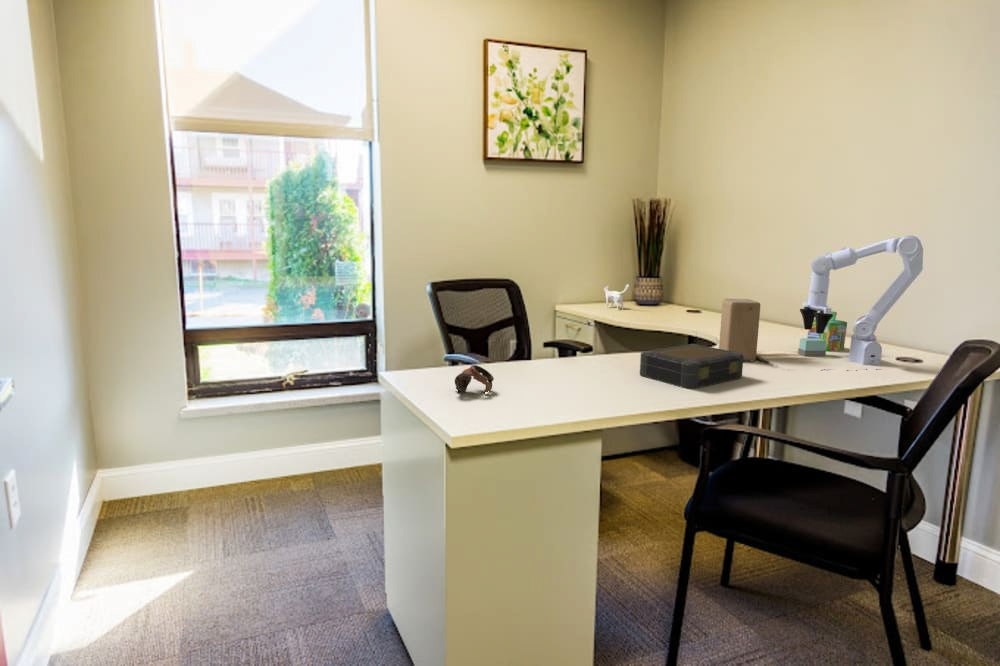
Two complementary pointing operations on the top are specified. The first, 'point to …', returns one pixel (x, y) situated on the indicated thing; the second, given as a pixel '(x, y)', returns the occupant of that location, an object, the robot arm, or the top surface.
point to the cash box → (691, 365)
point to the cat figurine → (614, 296)
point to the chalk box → (831, 333)
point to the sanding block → (812, 347)
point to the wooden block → (740, 327)
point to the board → (787, 356)
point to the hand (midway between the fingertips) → (813, 331)
